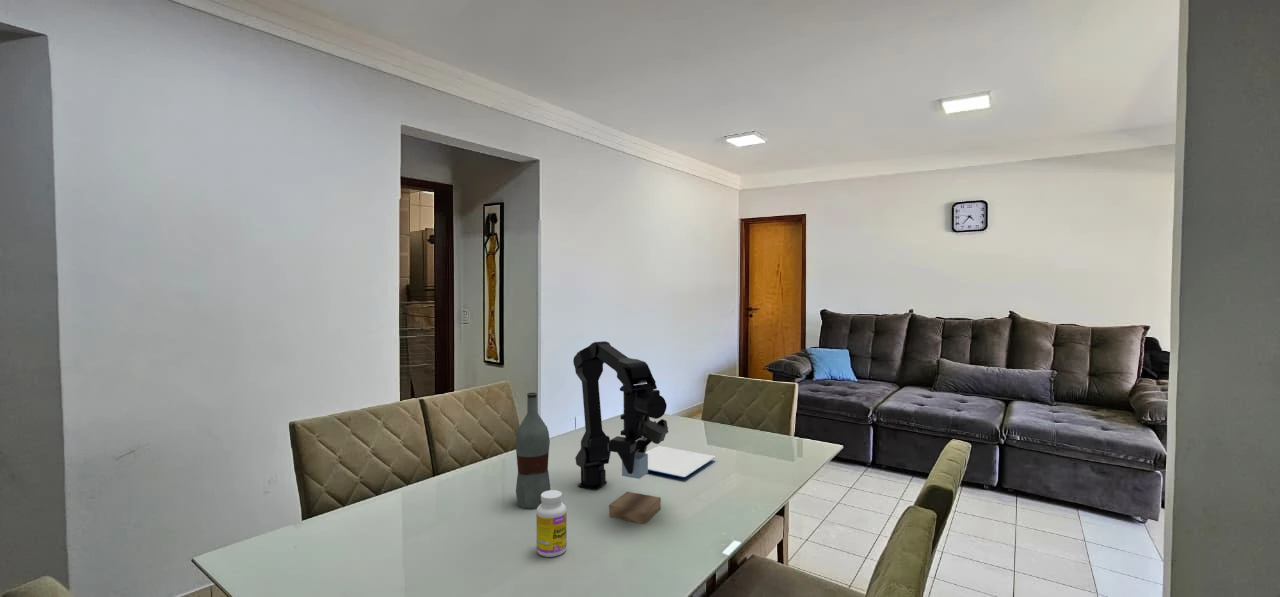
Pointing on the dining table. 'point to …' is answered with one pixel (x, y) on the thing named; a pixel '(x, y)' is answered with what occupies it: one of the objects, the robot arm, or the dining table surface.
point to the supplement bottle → (551, 524)
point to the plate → (675, 461)
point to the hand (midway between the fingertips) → (634, 470)
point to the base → (635, 507)
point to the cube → (637, 466)
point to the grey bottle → (532, 457)
